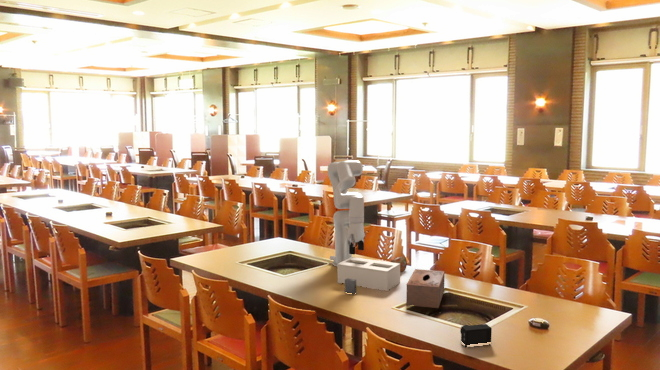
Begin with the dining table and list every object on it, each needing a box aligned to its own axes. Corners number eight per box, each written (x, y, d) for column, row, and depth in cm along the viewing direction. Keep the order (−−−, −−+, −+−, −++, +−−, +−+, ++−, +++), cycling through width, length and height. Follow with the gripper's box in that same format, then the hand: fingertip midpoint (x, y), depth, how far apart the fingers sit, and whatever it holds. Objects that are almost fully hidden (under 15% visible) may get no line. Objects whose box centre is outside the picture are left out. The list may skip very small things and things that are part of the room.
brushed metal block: (344, 293, 271) (344, 279, 270) (347, 292, 273) (347, 278, 272) (353, 295, 268) (353, 281, 267) (356, 293, 270) (356, 279, 269)
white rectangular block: (337, 282, 288) (337, 263, 286) (352, 274, 301) (351, 256, 300) (387, 291, 274) (387, 271, 272) (400, 282, 287) (400, 263, 286)
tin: (393, 276, 298) (393, 261, 297) (388, 275, 300) (388, 260, 299) (407, 270, 310) (407, 255, 309) (402, 269, 312) (402, 254, 311)
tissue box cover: (438, 308, 249) (438, 287, 248) (406, 305, 254) (406, 284, 252) (444, 291, 274) (444, 271, 273) (414, 288, 278) (415, 269, 277)
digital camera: (484, 339, 214) (484, 322, 214) (491, 345, 209) (491, 327, 208) (459, 342, 212) (459, 324, 211) (465, 348, 207) (466, 330, 206)
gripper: (357, 216, 296) (357, 247, 298) (342, 221, 281) (342, 254, 284) (370, 217, 292) (370, 249, 295) (355, 223, 278) (355, 256, 280)
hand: (356, 252), depth 289 cm, fingers open, 9 cm apart
